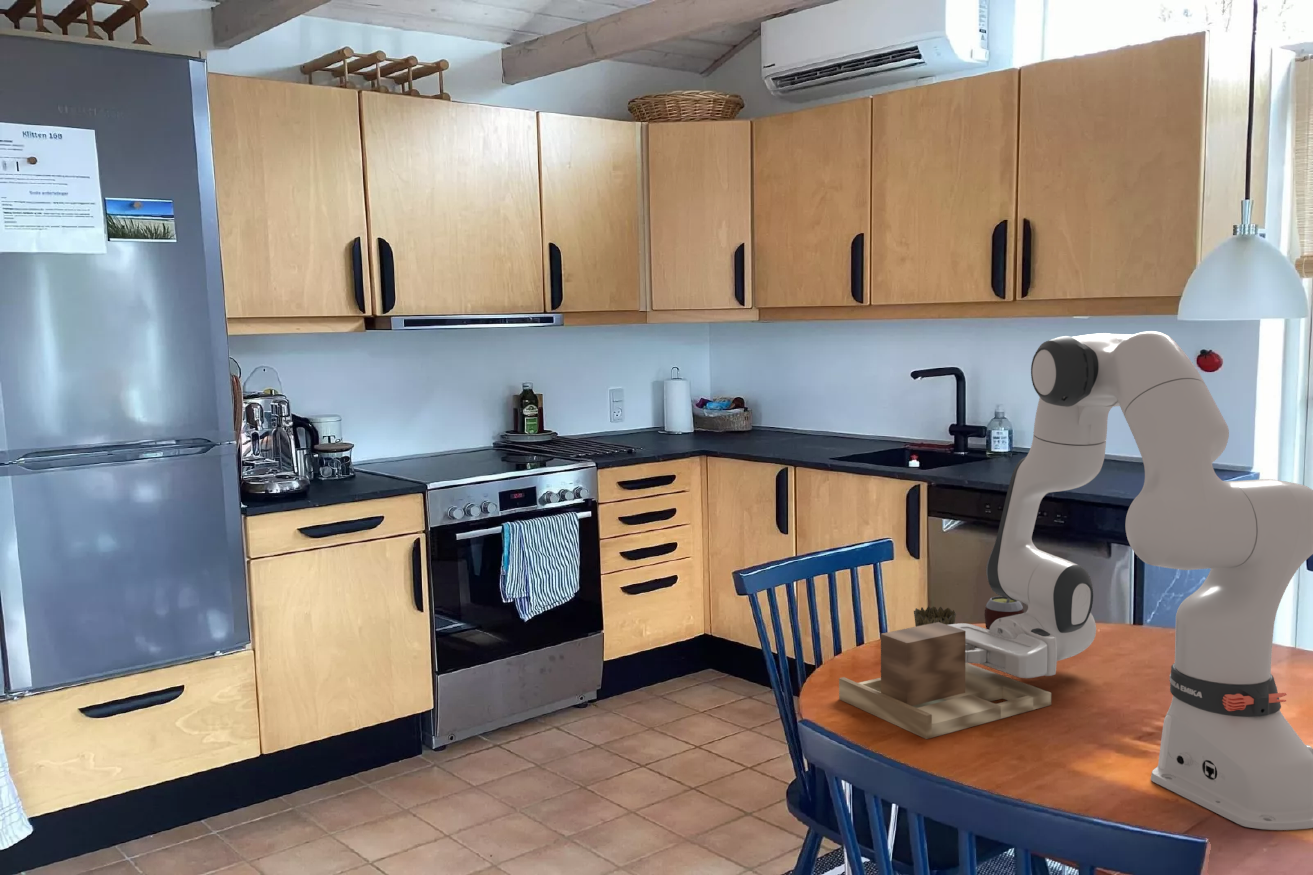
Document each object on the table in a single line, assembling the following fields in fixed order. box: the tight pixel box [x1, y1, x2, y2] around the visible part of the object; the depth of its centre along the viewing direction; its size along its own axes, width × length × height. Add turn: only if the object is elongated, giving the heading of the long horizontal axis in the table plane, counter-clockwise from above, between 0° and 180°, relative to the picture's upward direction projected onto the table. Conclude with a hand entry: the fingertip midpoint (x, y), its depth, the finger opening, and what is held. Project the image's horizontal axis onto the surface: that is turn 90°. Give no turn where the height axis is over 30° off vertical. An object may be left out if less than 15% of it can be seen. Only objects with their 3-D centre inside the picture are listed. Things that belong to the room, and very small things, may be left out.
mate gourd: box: [984, 595, 1025, 629], centre depth 200 cm, size 8×8×15 cm
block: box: [880, 622, 966, 706], centre depth 167 cm, size 12×6×10 cm, turn 119°
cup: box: [913, 605, 957, 627], centre depth 194 cm, size 8×7×8 cm
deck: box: [838, 663, 1052, 740], centre depth 169 cm, size 26×20×4 cm
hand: (952, 656), depth 170 cm, fingers closed
